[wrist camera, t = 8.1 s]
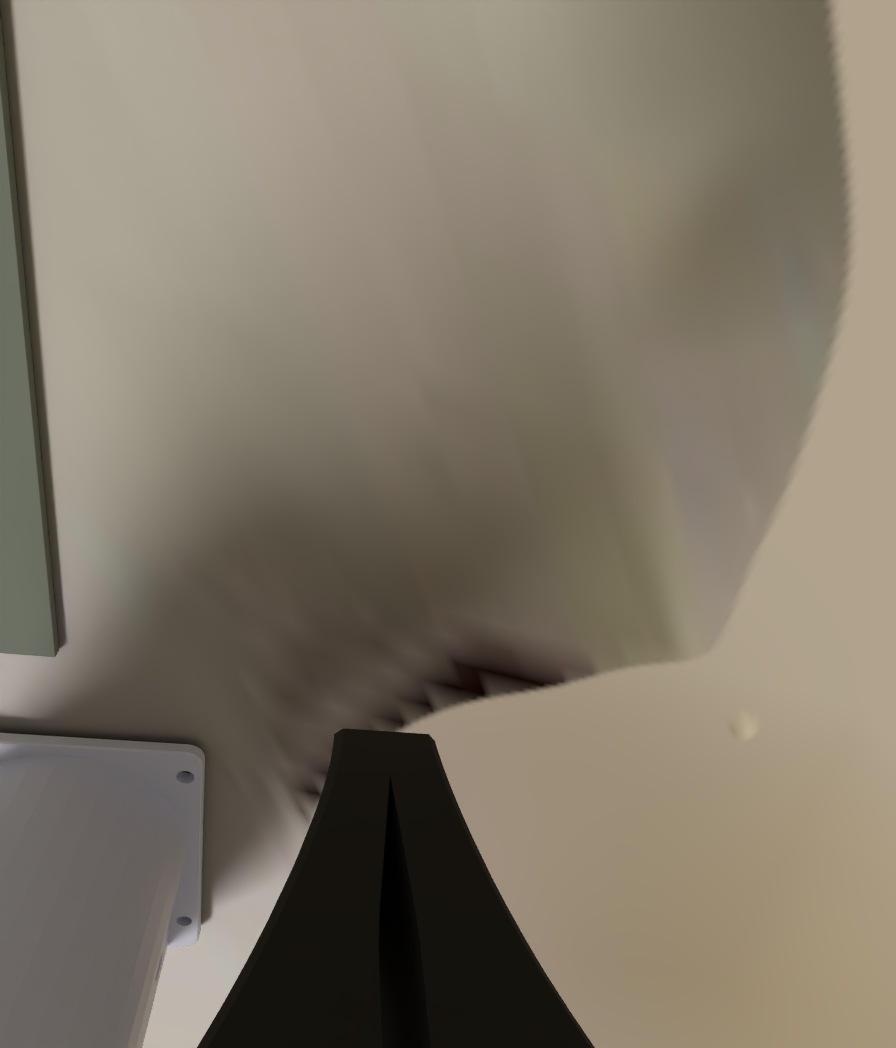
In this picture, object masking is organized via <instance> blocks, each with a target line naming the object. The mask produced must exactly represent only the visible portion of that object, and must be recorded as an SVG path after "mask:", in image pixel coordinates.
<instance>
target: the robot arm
mask: <svg viewBox="0 0 896 1048" xmlns="http://www.w3.org/2000/svg"><path fill="white" fill-rule="evenodd" d="M183 771H188V772H191V773H185V772H183ZM204 780H205V755H204V752H203V751H202V750H201V749H200V748H198V747H196V746H194V745H189V744H174V743H158V742H141V741H125V740H109V739H93V738H76V737H60V736H44V735H28V734H11V733H0V1048H142V1046H143V1042H144V1038H145V1034H146V1030H147V1026H148V1021H149V1017H150V1013H151V1009H152V1005H153V1001H154V997H155V993H156V989H157V985H158V981H159V977H160V973H161V969H162V965H163V961H164V957H165V953H166V949H167V946H182V947H184V946H190V945H193V944H195V943H196V942H197V941H198V939H199V934H200V930H201V893H202V855H203V817H204ZM197 1048H594V1046H593V1045H592V1043H591V1041H590V1040H589V1039H588V1037H587V1036H586V1034H585V1033H584V1031H583V1030H582V1028H581V1027H580V1025H579V1024H578V1022H577V1021H576V1020H575V1018H574V1017H573V1015H572V1014H571V1012H570V1011H569V1009H568V1008H567V1006H566V1004H565V1003H564V1001H563V1000H562V998H561V997H560V995H559V994H558V992H557V991H556V989H555V988H554V986H553V984H552V983H551V981H550V980H549V978H548V977H547V975H546V973H545V972H544V970H543V968H542V967H541V965H540V963H539V962H538V960H537V959H536V957H535V955H534V953H533V952H532V950H531V948H530V946H529V945H528V943H527V942H526V940H525V938H524V936H523V934H522V933H521V931H520V929H519V927H518V925H517V924H516V922H515V920H514V918H513V917H512V915H511V913H510V911H509V909H508V907H507V906H506V904H505V902H504V900H503V898H502V896H501V894H500V892H499V890H498V888H497V887H496V885H495V883H494V881H493V879H492V877H491V875H490V873H489V871H488V869H487V867H486V864H485V862H484V860H483V858H482V856H481V854H480V852H479V850H478V848H477V846H476V844H475V842H474V840H473V838H472V836H471V833H470V831H469V829H468V827H467V824H466V822H465V820H464V818H463V815H462V813H461V811H460V808H459V806H458V803H457V801H456V799H455V796H454V794H453V792H452V789H451V786H450V784H449V781H448V779H447V776H446V773H445V771H444V768H443V765H442V762H441V759H440V756H439V753H438V750H437V747H436V744H435V741H434V740H433V739H432V737H430V735H429V734H416V733H402V732H387V731H372V730H357V729H342V730H340V731H339V732H337V733H336V734H334V742H333V749H332V756H331V762H330V766H329V770H328V774H327V778H326V781H325V785H324V788H323V791H322V794H321V797H320V800H319V803H318V806H317V809H316V812H315V814H314V817H313V819H312V822H311V824H310V827H309V829H308V832H307V834H306V837H305V840H304V842H303V845H302V847H301V850H300V852H299V855H298V857H297V859H296V862H295V864H294V866H293V869H292V871H291V873H290V875H289V877H288V879H287V881H286V883H285V886H284V888H283V890H282V892H281V894H280V896H279V898H278V900H277V902H276V905H275V907H274V909H273V911H272V913H271V915H270V917H269V919H268V922H267V923H266V925H265V927H264V929H263V931H262V933H261V935H260V937H259V939H258V941H257V943H256V945H255V947H254V949H253V951H252V953H251V954H250V956H249V958H248V960H247V962H246V964H245V966H244V967H243V969H242V971H241V973H240V975H239V976H238V978H237V980H236V982H235V984H234V985H233V987H232V989H231V991H230V993H229V994H228V996H227V998H226V1000H225V1002H224V1003H223V1005H222V1007H221V1008H220V1010H219V1012H218V1013H217V1015H216V1017H215V1018H214V1020H213V1022H212V1024H211V1025H210V1027H209V1029H208V1030H207V1032H206V1034H205V1035H204V1037H203V1039H202V1040H201V1042H200V1044H199V1045H198V1047H197Z"/></svg>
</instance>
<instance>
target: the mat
mask: <svg viewBox="0 0 896 1048" xmlns="http://www.w3.org/2000/svg"><path fill="white" fill-rule="evenodd" d="M58 651H59V644H58V633H57V622H56V611H55V600H54V590H53V579H52V568H51V557H50V546H49V535H48V524H47V514H46V503H45V492H44V481H43V470H42V459H41V448H40V438H39V427H38V416H37V405H36V394H35V383H34V373H33V362H32V351H31V340H30V329H29V318H28V307H27V297H26V286H25V275H24V264H23V253H22V242H21V232H20V221H19V210H18V199H17V188H16V177H15V166H14V156H13V145H12V134H11V123H10V112H9V101H8V90H7V80H6V69H5V58H4V47H3V36H2V25H1V15H0V653H8V654H21V655H34V656H47V657H55V656H56V655H57V653H58Z"/></svg>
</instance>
